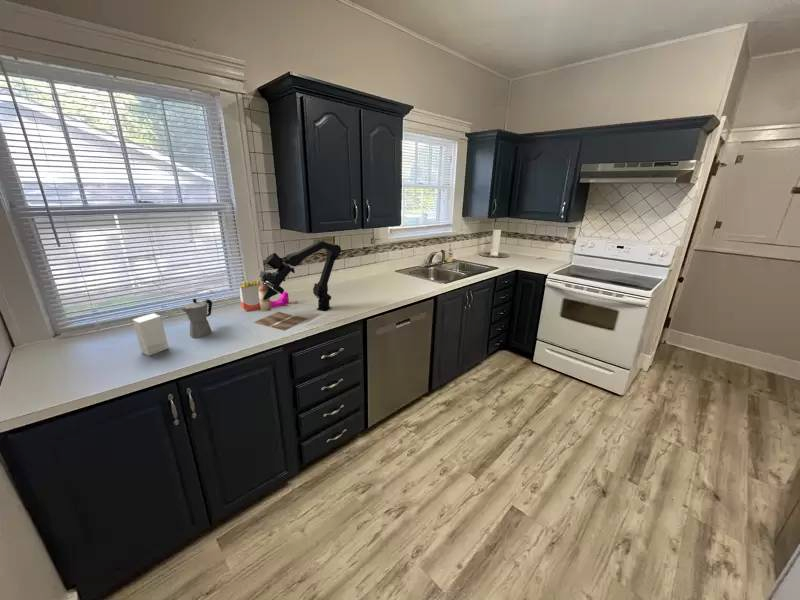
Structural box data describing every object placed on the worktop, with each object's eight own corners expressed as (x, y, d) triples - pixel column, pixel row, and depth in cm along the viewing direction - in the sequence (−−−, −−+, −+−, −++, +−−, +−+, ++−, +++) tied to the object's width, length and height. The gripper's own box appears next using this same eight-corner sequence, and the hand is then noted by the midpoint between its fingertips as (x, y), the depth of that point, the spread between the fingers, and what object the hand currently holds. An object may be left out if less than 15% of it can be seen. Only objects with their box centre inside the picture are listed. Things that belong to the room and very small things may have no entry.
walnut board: (278, 313, 185) (278, 311, 184) (309, 320, 176) (309, 318, 175) (252, 324, 169) (252, 322, 169) (284, 332, 160) (284, 330, 160)
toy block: (266, 310, 189) (264, 298, 186) (262, 308, 193) (260, 296, 191) (290, 305, 198) (289, 293, 196) (286, 302, 203) (285, 291, 200)
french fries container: (241, 311, 187) (237, 281, 181) (260, 307, 194) (257, 277, 188) (244, 313, 184) (240, 282, 178) (263, 309, 191) (260, 279, 185)
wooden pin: (266, 307, 174) (263, 283, 169) (273, 309, 172) (270, 284, 167) (258, 310, 169) (255, 285, 165) (265, 312, 167) (262, 286, 163)
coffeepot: (196, 341, 149) (189, 304, 144) (181, 338, 152) (173, 302, 146) (223, 328, 163) (217, 294, 158) (208, 326, 166) (202, 292, 160)
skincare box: (162, 345, 145) (154, 312, 140) (169, 348, 142) (162, 315, 137) (140, 352, 138) (131, 318, 133) (148, 356, 135) (139, 322, 130)
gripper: (262, 262, 172) (243, 285, 169) (275, 268, 159) (254, 294, 156) (279, 274, 180) (260, 297, 176) (292, 281, 166) (272, 306, 163)
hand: (261, 298), depth 168 cm, fingers closed on wooden pin, 5 cm apart
